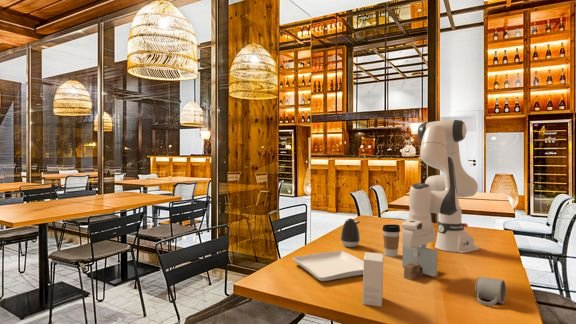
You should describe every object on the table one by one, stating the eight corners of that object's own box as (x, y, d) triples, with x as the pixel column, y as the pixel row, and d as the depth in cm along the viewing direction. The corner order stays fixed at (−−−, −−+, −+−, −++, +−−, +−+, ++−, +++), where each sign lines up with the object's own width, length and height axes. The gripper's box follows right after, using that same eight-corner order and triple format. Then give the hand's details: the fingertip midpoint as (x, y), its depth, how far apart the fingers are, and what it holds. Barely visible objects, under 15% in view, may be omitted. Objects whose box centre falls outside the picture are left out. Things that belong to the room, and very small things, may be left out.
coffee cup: (401, 258, 162) (401, 227, 161) (382, 257, 163) (383, 226, 163) (398, 253, 170) (399, 223, 170) (381, 252, 172) (381, 223, 171)
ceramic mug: (479, 292, 121) (480, 272, 121) (506, 299, 116) (506, 277, 115) (471, 302, 114) (471, 280, 113) (499, 310, 108) (499, 287, 108)
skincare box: (364, 294, 120) (364, 251, 119) (383, 297, 118) (383, 253, 117) (362, 305, 111) (362, 258, 111) (382, 307, 110) (383, 260, 109)
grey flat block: (402, 267, 145) (402, 244, 145) (406, 265, 147) (406, 243, 146) (433, 276, 134) (433, 251, 134) (437, 274, 136) (437, 250, 136)
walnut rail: (426, 268, 147) (426, 257, 147) (433, 270, 145) (433, 258, 145) (404, 277, 136) (404, 265, 136) (410, 280, 134) (410, 267, 133)
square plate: (291, 264, 153) (291, 256, 153) (342, 257, 164) (342, 249, 164) (319, 286, 128) (319, 276, 128) (377, 276, 139) (377, 266, 139)
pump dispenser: (355, 249, 176) (355, 221, 175) (337, 246, 182) (337, 218, 182) (363, 245, 184) (363, 218, 183) (346, 242, 190) (346, 216, 190)
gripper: (425, 218, 149) (425, 249, 149) (399, 224, 136) (399, 258, 136) (439, 220, 144) (438, 252, 144) (413, 226, 131) (413, 261, 131)
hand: (419, 255), depth 140 cm, fingers closed on grey flat block, 3 cm apart
